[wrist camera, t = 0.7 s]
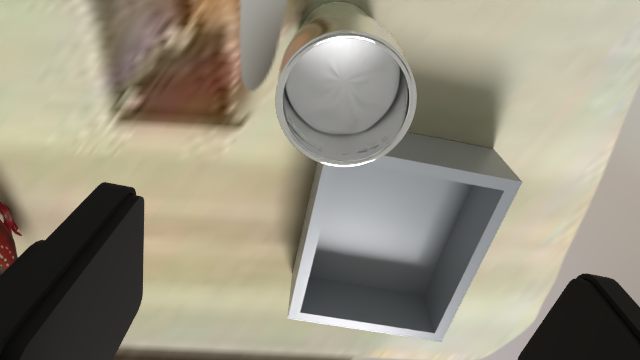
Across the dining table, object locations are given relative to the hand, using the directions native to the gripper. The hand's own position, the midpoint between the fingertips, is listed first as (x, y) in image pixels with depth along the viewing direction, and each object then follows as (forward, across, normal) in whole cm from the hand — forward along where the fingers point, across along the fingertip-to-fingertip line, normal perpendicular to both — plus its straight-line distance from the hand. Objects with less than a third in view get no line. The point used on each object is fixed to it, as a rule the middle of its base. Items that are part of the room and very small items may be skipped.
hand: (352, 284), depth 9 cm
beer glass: (+27, 0, 0) cm, 27 cm away
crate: (+26, -9, +15) cm, 31 cm away
